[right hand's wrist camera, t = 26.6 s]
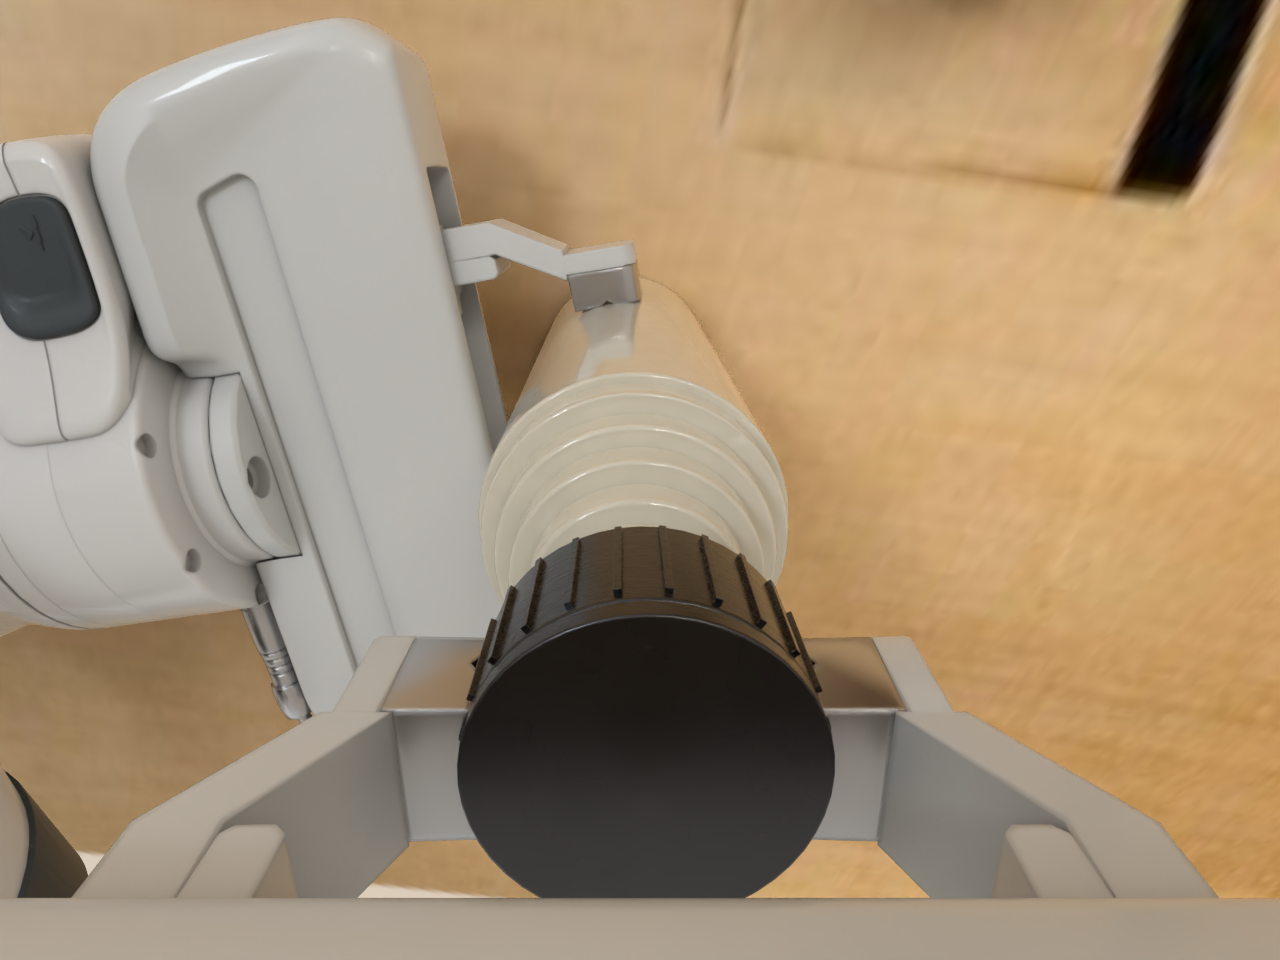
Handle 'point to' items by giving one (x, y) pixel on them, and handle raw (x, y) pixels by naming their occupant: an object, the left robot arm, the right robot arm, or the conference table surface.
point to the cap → (644, 724)
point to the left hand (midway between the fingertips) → (657, 391)
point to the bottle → (630, 443)
